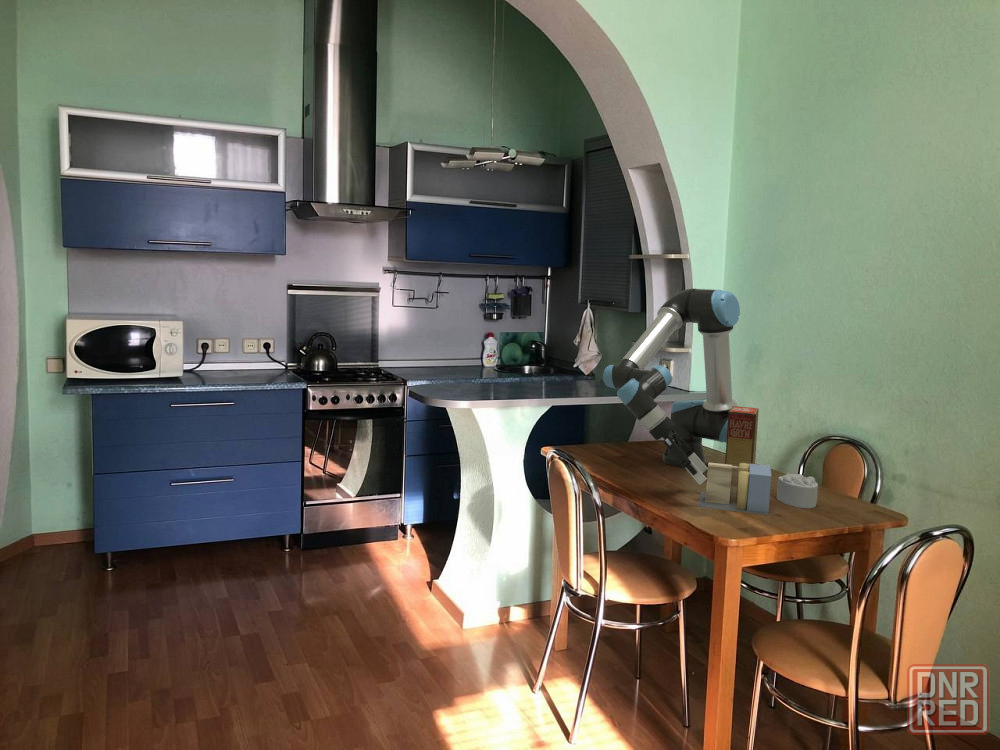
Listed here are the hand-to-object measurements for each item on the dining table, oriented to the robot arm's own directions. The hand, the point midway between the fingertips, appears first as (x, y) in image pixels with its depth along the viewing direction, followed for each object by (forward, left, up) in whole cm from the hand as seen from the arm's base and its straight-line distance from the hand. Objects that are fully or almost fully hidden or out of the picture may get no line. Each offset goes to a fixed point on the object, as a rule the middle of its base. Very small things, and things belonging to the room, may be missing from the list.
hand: (704, 476), depth 253 cm
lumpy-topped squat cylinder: (-21, +21, -8) cm, 31 cm away
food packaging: (-30, -2, -8) cm, 31 cm away
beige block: (-3, +6, -7) cm, 10 cm away
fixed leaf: (-6, +13, -7) cm, 16 cm away
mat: (-4, +8, -8) cm, 12 cm away
